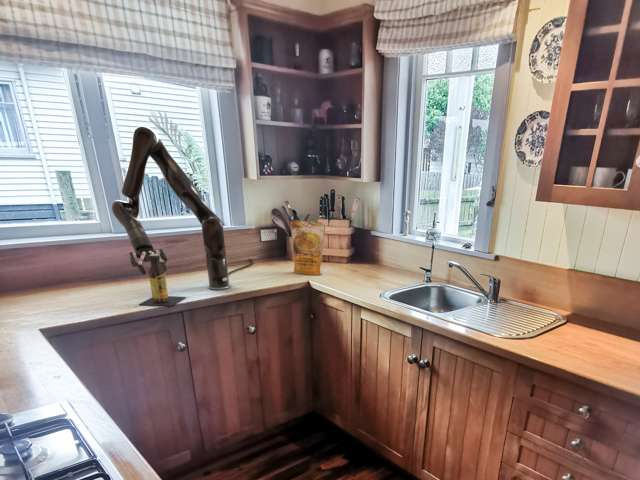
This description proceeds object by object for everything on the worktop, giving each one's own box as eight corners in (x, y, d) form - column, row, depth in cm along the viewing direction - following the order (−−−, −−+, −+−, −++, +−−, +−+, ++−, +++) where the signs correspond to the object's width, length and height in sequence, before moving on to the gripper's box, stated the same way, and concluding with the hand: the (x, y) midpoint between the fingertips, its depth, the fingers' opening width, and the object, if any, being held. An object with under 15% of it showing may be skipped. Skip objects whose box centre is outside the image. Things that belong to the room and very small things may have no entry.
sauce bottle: (163, 303, 199) (155, 256, 191) (150, 302, 200) (141, 255, 192) (172, 299, 205) (165, 254, 196) (159, 298, 206) (151, 253, 198)
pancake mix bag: (294, 270, 266) (292, 219, 254) (326, 273, 261) (325, 221, 250) (289, 273, 260) (287, 220, 248) (321, 276, 256) (320, 223, 244)
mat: (155, 296, 210) (155, 295, 210) (185, 297, 209) (185, 297, 209) (139, 305, 197) (139, 304, 197) (171, 306, 197) (171, 305, 197)
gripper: (123, 237, 194) (138, 269, 191) (158, 234, 203) (173, 265, 201) (121, 248, 199) (136, 279, 197) (155, 244, 209) (169, 275, 206)
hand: (154, 272), depth 199 cm, fingers open, 8 cm apart
